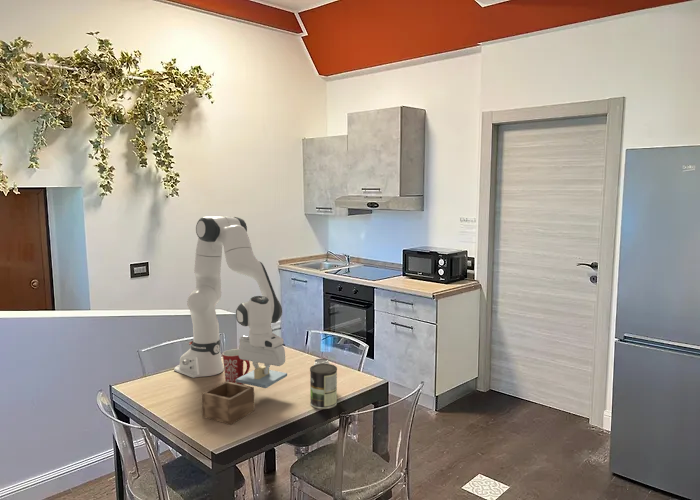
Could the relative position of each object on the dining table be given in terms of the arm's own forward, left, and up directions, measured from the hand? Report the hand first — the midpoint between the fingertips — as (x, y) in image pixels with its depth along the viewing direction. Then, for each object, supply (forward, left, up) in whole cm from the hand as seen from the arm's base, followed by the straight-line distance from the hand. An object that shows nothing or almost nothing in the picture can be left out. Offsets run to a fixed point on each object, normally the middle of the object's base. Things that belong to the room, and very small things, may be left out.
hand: (261, 373), depth 205 cm
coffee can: (+24, +7, -10) cm, 27 cm away
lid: (0, 0, -3) cm, 3 cm away
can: (+16, +19, -10) cm, 27 cm away
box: (-2, -17, -10) cm, 20 cm away
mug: (-18, +7, -10) cm, 22 cm away
